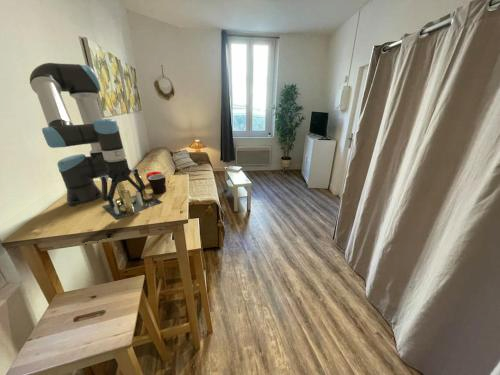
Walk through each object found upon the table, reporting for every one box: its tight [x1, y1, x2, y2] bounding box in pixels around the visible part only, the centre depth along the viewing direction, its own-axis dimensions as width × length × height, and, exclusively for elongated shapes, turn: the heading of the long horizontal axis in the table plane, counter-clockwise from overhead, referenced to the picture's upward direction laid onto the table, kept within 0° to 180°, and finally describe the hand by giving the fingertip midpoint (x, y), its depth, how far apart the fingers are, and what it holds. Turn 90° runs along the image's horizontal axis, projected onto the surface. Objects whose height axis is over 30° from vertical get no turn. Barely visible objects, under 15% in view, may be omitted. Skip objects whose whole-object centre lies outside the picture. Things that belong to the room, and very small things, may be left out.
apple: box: [145, 171, 163, 184], centre depth 128 cm, size 9×9×8 cm
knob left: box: [134, 175, 154, 201], centre depth 107 cm, size 9×4×11 cm, turn 50°
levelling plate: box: [101, 194, 163, 221], centre depth 103 cm, size 20×21×3 cm
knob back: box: [114, 181, 126, 206], centre depth 102 cm, size 9×4×11 cm, turn 170°
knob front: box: [120, 189, 136, 217], centre depth 94 cm, size 9×4×11 cm, turn 50°
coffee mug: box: [148, 173, 167, 195], centre depth 116 cm, size 12×9×10 cm
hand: (129, 208), depth 93 cm, fingers open, 9 cm apart
